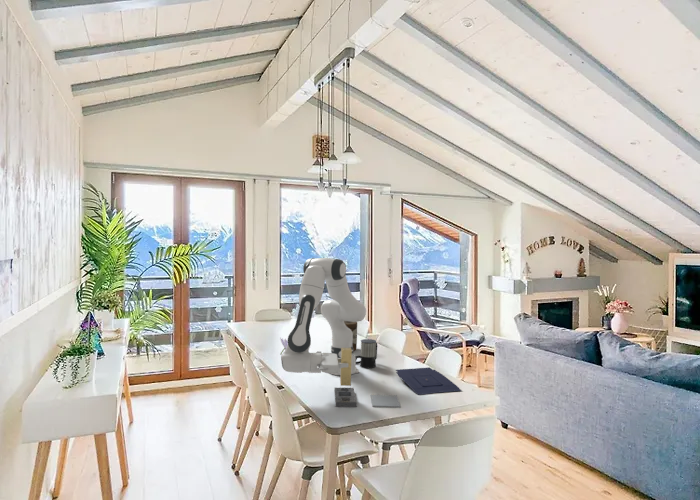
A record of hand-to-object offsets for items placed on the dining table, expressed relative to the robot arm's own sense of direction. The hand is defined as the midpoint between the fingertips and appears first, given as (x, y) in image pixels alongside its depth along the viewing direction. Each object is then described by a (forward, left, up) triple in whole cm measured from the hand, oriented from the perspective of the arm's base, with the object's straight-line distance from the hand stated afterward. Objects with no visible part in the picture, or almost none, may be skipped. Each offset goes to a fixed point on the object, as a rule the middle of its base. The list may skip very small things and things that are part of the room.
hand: (348, 363), depth 210 cm
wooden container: (-96, -1, -16) cm, 97 cm away
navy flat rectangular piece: (-24, +40, -16) cm, 50 cm away
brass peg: (0, -1, -10) cm, 10 cm away
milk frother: (-58, +9, -16) cm, 61 cm away
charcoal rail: (0, -1, -16) cm, 16 cm away
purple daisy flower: (-80, -37, -16) cm, 89 cm away
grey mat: (+3, +17, -16) cm, 24 cm away
